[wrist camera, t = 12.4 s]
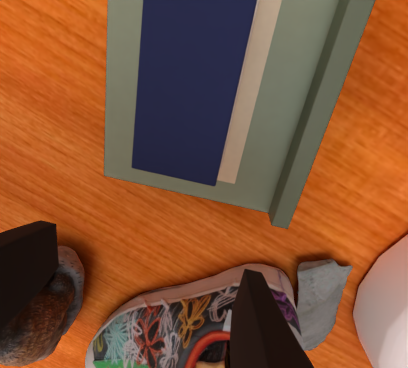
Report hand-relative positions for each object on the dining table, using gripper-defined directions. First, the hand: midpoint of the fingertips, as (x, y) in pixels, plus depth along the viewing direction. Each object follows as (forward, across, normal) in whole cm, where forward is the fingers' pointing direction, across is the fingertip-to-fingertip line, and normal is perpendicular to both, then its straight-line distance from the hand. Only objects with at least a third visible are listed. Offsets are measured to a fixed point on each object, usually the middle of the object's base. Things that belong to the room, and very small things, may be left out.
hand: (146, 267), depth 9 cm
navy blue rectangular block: (+7, 0, -7) cm, 10 cm away
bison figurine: (+10, +11, +13) cm, 20 cm away
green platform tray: (+10, 0, -7) cm, 12 cm away
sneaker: (+10, -2, +14) cm, 17 cm away
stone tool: (+8, -10, +9) cm, 16 cm away
